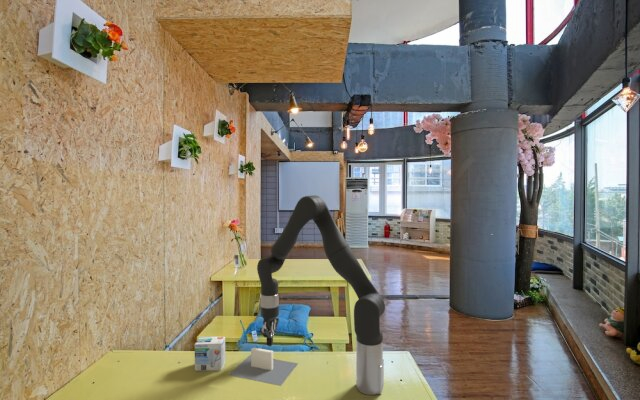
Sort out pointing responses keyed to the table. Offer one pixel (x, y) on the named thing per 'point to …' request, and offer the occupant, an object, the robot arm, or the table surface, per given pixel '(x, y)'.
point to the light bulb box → (209, 353)
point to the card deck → (262, 358)
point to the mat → (265, 371)
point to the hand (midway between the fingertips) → (269, 345)
